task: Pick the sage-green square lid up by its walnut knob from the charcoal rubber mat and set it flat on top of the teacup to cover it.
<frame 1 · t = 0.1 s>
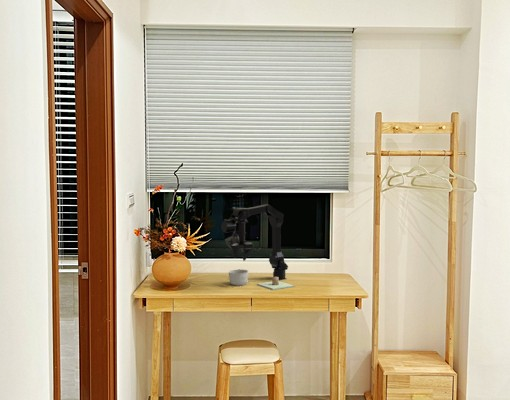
hand: (239, 259, 319), 15 cm above the table, tool pointing down, fingers open, 9 cm apart
teacup: (238, 284, 322), on the table
lid: (275, 285, 318), resting on mat
mat: (275, 286, 318), on the table
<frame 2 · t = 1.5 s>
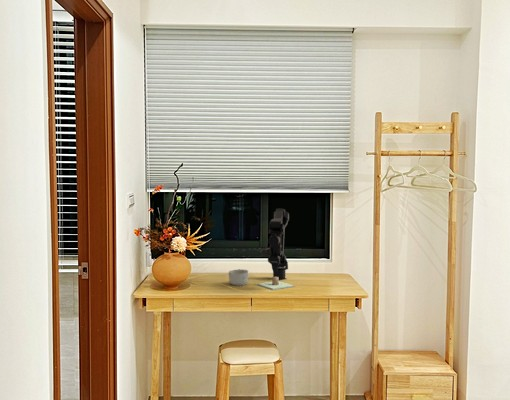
hand: (275, 271, 318), 8 cm above the table, tool pointing down, fingers open, 9 cm apart
nothing on the table moved.
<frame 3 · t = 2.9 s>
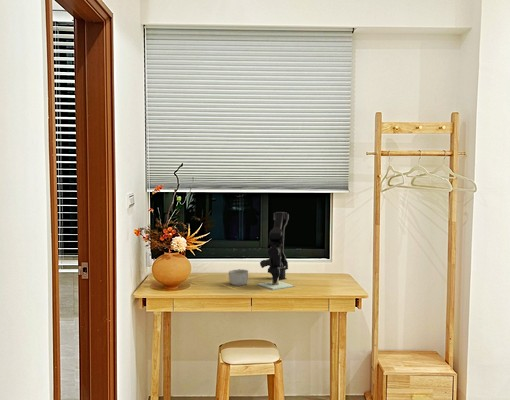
hand: (275, 282, 318), 2 cm above the table, tool pointing down, fingers closed on lid, 3 cm apart
lid: (275, 285, 318), resting on mat, touching gripper
everything else where it was.
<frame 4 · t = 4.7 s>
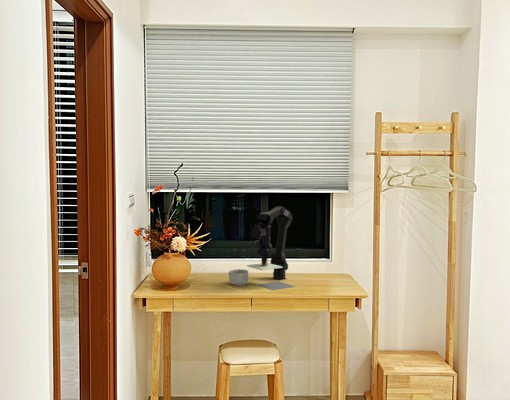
hand: (264, 264, 318), 12 cm above the table, tool pointing down, fingers closed on lid, 3 cm apart
lid: (264, 267, 318), point 11 cm above the table, touching gripper
everything else where it was.
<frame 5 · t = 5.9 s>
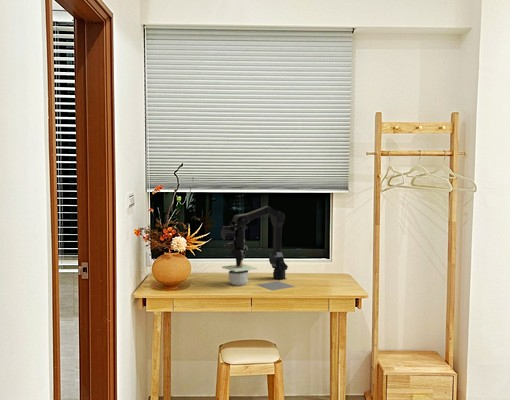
hand: (239, 265, 321), 11 cm above the table, tool pointing down, fingers closed on lid, 3 cm apart
lid: (239, 268, 321), point 9 cm above the table, touching gripper
everything else where it was.
when the fingers open (10 cm above the table, at t = 6.5 s): lid drops 1 cm, resting on teacup.
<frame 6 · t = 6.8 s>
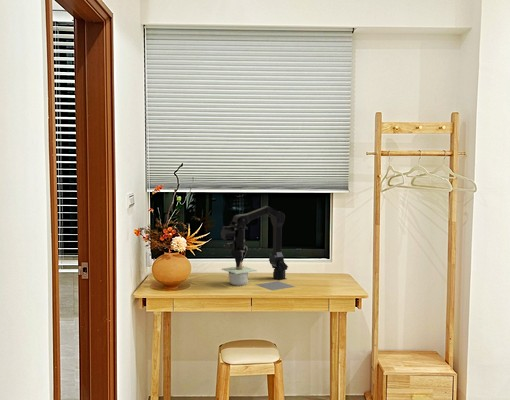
hand: (239, 265, 321), 10 cm above the table, tool pointing down, fingers open, 7 cm apart
teacup: (238, 284, 322), on the table, touching lid
lid: (239, 270, 321), point 8 cm above the table, touching teacup
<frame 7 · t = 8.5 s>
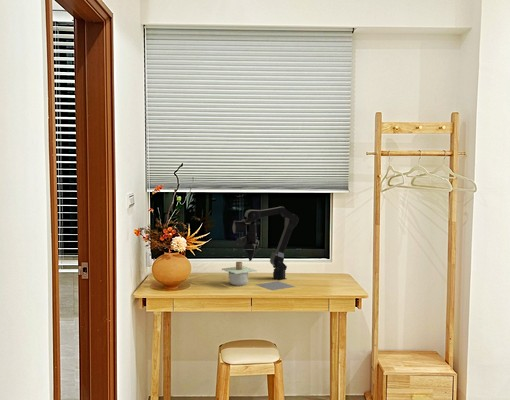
hand: (251, 259, 330), 13 cm above the table, tool pointing down, fingers open, 9 cm apart
nothing on the table moved.
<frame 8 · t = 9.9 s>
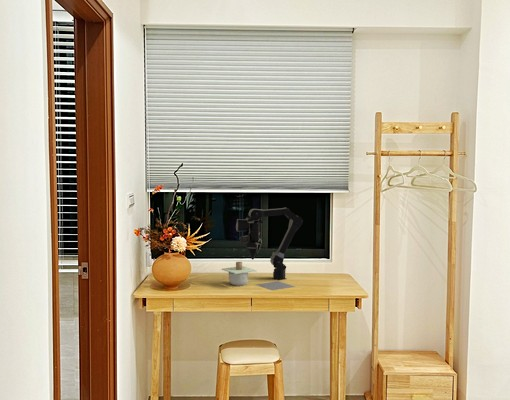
hand: (254, 258, 332), 13 cm above the table, tool pointing down, fingers open, 9 cm apart
nothing on the table moved.
at the end: lid 0.2 cm from the teacup (horizontally); lid point 7.9 cm above the table; lid tilted 0° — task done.
